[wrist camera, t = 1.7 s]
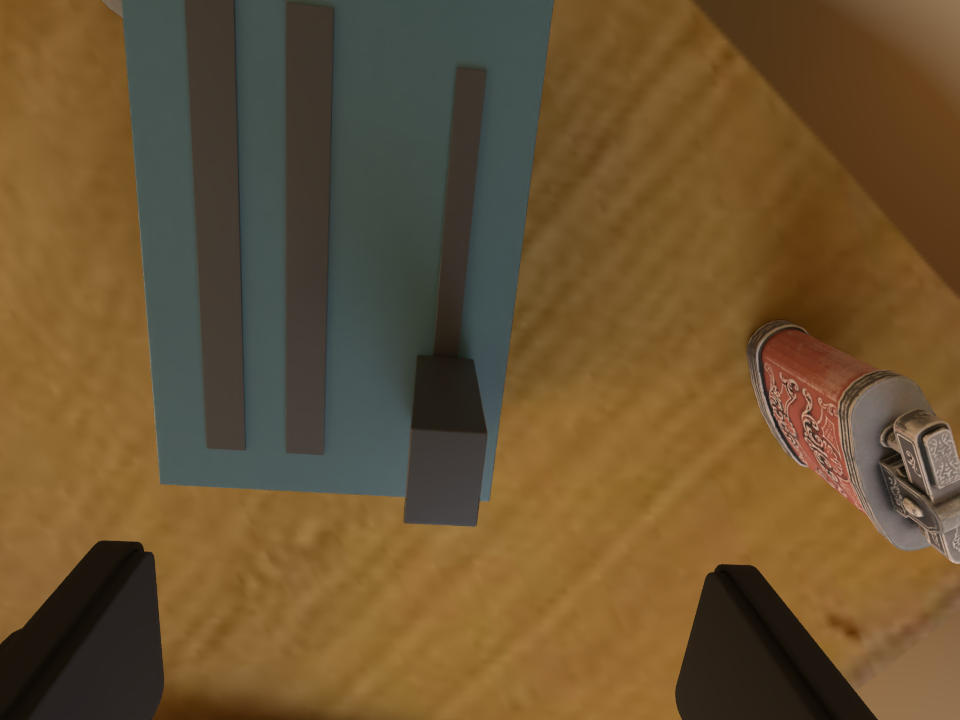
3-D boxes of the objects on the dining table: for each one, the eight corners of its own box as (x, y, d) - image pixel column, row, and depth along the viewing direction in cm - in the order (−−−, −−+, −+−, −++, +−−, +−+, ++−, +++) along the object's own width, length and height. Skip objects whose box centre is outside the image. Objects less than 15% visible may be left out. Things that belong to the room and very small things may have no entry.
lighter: (845, 440, 30) (1031, 570, 21) (784, 469, 31) (940, 611, 21) (799, 306, 28) (988, 386, 18) (732, 340, 28) (884, 436, 19)
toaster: (520, 29, 23) (562, -32, 15) (476, 410, 28) (492, 506, 21) (221, -11, 22) (106, -99, 14) (233, 393, 27) (155, 489, 19)
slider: (474, 358, 19) (488, 432, 14) (466, 432, 19) (476, 527, 15) (416, 354, 18) (410, 427, 14) (411, 429, 19) (403, 524, 14)
